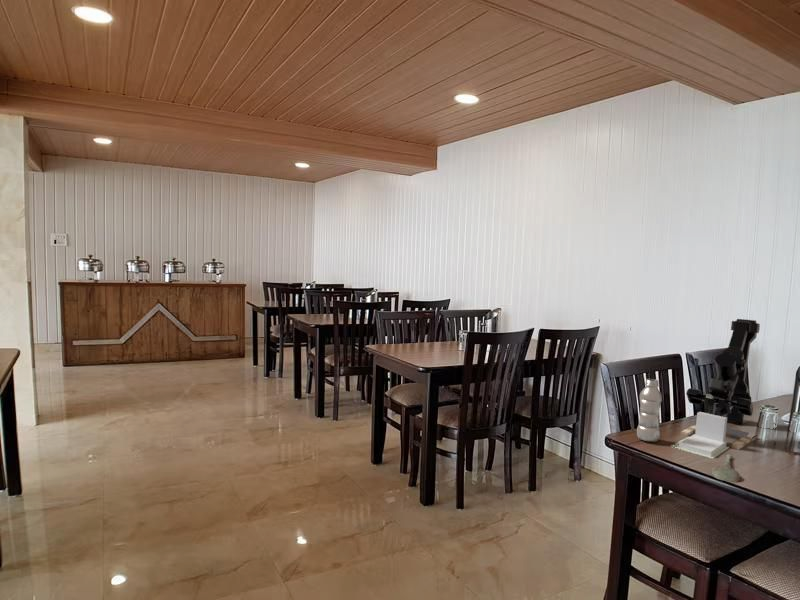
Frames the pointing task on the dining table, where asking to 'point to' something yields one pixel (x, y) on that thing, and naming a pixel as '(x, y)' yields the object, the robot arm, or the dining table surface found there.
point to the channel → (736, 445)
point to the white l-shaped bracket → (707, 435)
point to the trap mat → (736, 432)
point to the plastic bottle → (649, 411)
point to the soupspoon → (726, 472)
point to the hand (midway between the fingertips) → (711, 421)
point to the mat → (702, 454)
